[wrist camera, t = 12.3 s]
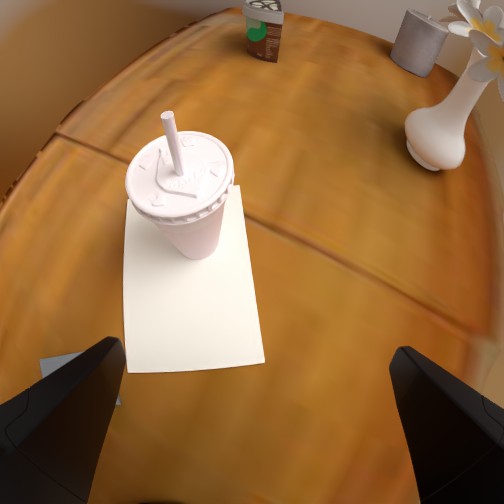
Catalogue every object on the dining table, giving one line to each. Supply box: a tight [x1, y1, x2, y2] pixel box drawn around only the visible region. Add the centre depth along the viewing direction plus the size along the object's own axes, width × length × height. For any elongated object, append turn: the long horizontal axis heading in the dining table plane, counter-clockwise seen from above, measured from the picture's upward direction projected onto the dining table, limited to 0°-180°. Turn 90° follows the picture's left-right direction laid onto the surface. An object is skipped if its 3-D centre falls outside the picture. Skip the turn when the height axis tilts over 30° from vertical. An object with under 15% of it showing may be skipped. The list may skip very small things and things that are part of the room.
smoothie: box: [126, 111, 235, 260], centre depth 17 cm, size 6×6×14 cm
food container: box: [242, 0, 284, 63], centre depth 33 cm, size 12×6×10 cm, turn 177°
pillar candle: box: [390, 9, 449, 77], centre depth 35 cm, size 10×10×15 cm
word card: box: [39, 351, 122, 405], centre depth 18 cm, size 5×8×1 cm, turn 108°
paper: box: [123, 185, 265, 373], centre depth 23 cm, size 16×11×1 cm
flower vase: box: [405, 0, 504, 171], centre depth 19 cm, size 13×18×25 cm
